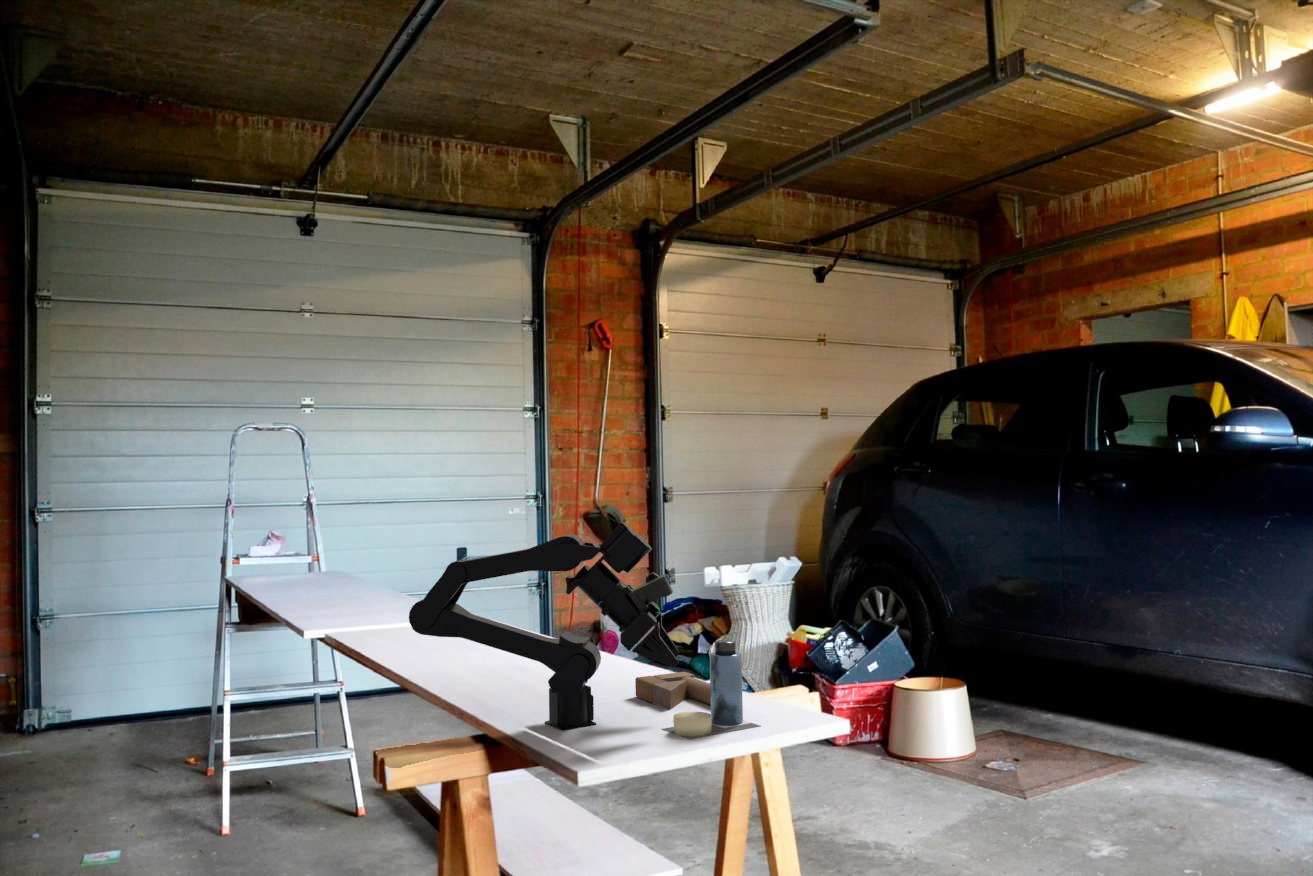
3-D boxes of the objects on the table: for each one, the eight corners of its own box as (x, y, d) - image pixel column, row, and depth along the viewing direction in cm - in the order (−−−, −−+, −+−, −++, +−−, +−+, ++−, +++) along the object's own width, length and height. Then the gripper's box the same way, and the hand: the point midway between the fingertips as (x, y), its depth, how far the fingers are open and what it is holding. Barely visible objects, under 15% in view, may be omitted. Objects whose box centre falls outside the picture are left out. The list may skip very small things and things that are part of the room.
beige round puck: (688, 738, 154) (687, 722, 154) (666, 730, 159) (666, 715, 159) (719, 732, 158) (719, 716, 158) (697, 725, 163) (697, 709, 163)
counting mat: (689, 741, 154) (689, 738, 154) (661, 731, 161) (661, 728, 161) (761, 728, 162) (761, 725, 162) (731, 719, 168) (731, 716, 168)
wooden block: (634, 677, 187) (679, 694, 171) (685, 671, 192) (734, 687, 176) (635, 697, 187) (680, 716, 171) (685, 690, 192) (734, 708, 176)
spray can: (718, 727, 161) (716, 645, 161) (706, 720, 166) (704, 640, 166) (748, 723, 163) (746, 643, 163) (734, 717, 167) (733, 638, 168)
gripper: (640, 562, 157) (712, 633, 156) (645, 554, 175) (710, 617, 174) (590, 614, 156) (662, 685, 156) (601, 600, 175) (665, 663, 174)
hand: (677, 660), depth 165 cm, fingers open, 9 cm apart
